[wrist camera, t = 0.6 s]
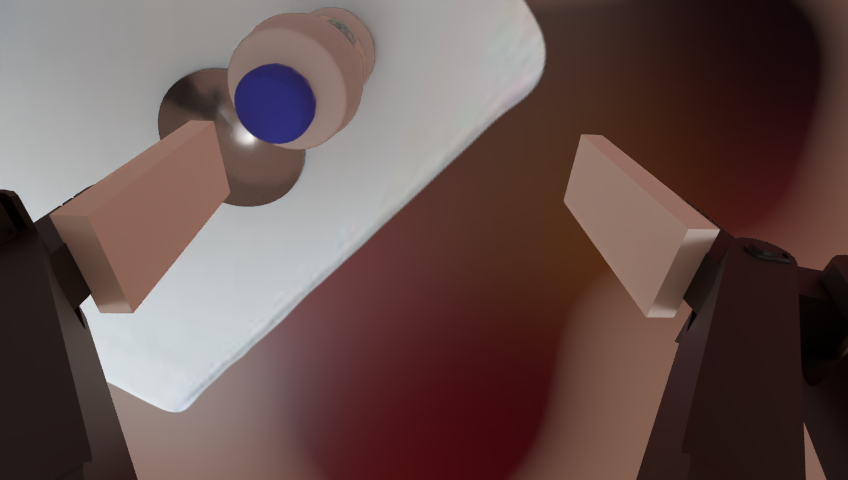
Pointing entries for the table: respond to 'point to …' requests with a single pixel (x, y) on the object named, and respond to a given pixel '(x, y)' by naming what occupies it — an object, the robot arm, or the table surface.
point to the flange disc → (231, 139)
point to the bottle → (301, 76)
